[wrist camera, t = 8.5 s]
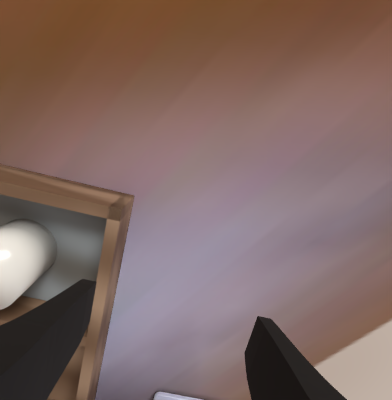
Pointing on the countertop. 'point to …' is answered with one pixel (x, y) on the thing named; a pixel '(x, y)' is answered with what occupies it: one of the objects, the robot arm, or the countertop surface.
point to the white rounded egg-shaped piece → (23, 257)
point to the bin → (71, 258)
